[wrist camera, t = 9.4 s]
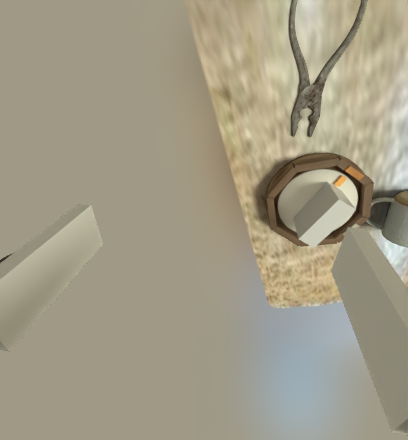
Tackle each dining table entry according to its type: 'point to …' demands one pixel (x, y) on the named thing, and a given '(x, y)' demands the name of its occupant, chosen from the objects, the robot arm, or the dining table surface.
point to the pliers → (312, 93)
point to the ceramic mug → (394, 219)
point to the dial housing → (316, 162)
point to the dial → (317, 203)
